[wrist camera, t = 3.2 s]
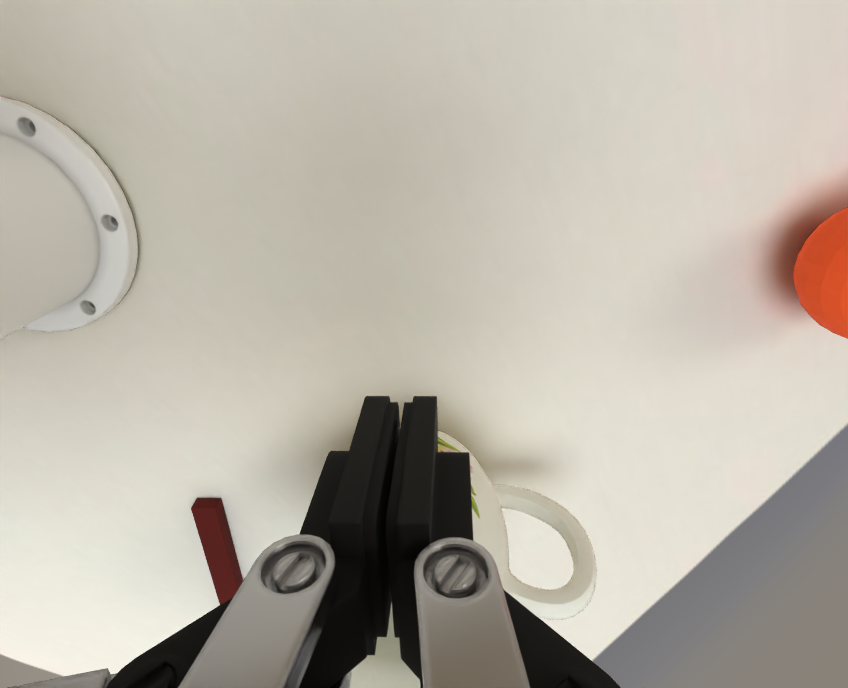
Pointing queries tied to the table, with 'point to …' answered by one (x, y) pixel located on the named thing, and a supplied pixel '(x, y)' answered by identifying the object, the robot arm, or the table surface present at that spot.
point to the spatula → (217, 546)
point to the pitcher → (387, 673)
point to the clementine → (825, 274)
